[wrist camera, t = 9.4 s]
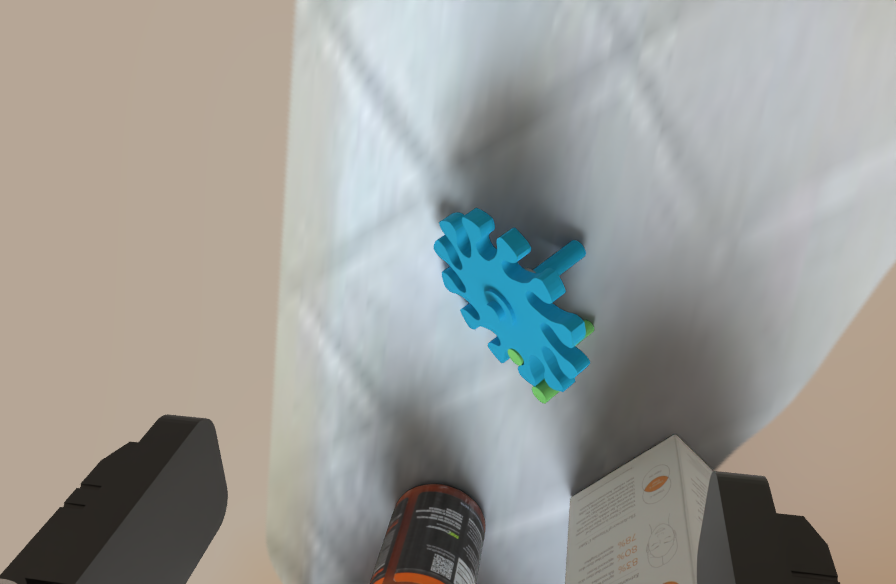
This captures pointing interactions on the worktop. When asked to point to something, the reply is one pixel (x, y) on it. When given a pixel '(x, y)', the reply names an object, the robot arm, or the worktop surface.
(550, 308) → the gear
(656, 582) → the small box
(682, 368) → the worktop surface
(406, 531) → the supplement bottle
